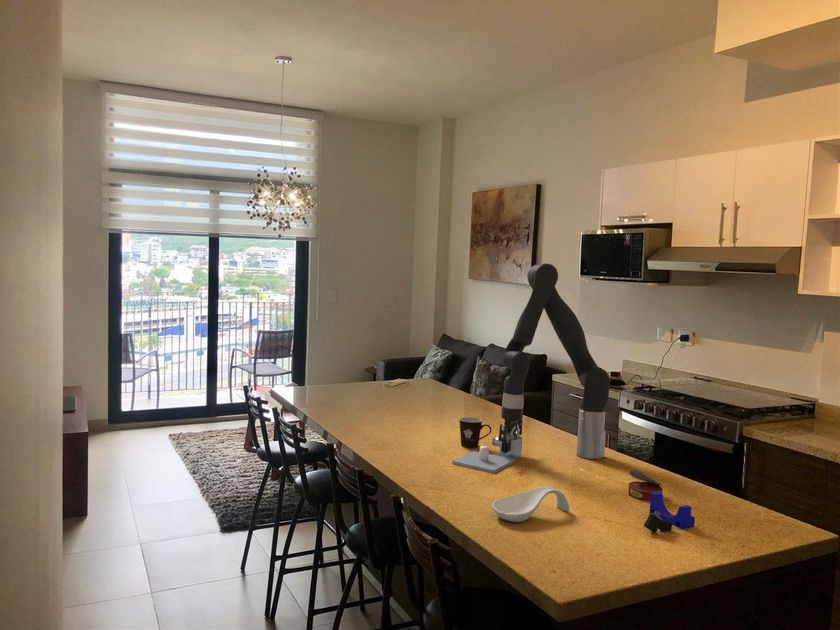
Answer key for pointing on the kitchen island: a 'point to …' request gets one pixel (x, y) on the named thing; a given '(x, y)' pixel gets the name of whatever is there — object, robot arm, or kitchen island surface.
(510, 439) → the cube on steel peg
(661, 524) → the black notched bracket
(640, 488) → the canned food
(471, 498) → the kitchen island surface
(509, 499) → the spoon rest
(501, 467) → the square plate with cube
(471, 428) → the coffee mug
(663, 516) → the cable clip
